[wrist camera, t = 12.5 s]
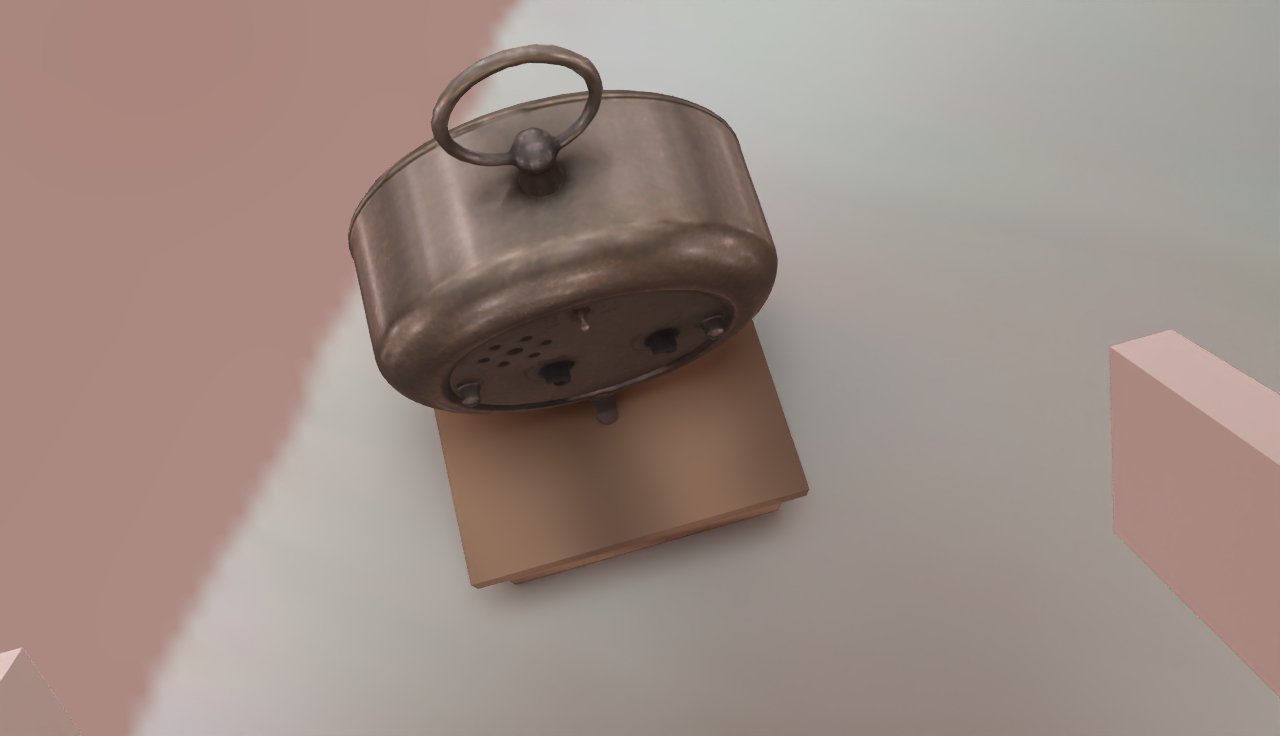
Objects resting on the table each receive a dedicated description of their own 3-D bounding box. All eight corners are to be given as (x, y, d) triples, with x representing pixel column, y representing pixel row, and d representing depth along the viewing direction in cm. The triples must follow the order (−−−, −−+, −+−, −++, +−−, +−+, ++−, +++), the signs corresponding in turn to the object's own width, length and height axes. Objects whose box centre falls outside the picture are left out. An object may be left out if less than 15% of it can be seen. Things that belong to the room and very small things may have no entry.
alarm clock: (730, 247, 33) (747, -135, 18) (780, 391, 32) (844, 101, 16) (422, 334, 33) (176, 20, 18) (455, 483, 31) (212, 278, 16)
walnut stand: (702, 236, 40) (701, 168, 35) (795, 519, 36) (809, 488, 31) (441, 309, 39) (401, 251, 34) (505, 601, 35) (470, 585, 30)
